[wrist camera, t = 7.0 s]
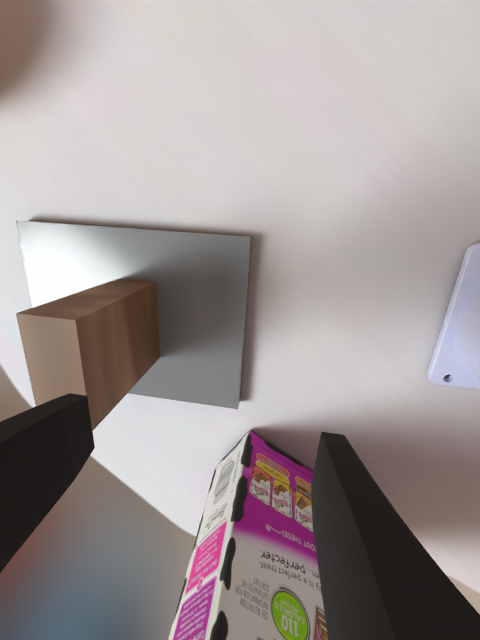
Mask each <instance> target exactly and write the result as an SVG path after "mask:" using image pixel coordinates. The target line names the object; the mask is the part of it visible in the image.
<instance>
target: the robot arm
mask: <svg viewBox="0 0 480 640" xmlns="http://www.w3.org/2000/svg"><path fill="white" fill-rule="evenodd" d="M449 374H450V376H449V377H448V378H447V379H444V377H445V376H446V375H449ZM427 377H428V379H429V380H430V381H431V382H432V383H433V384H437V385H445V386H453V387H461V388H469V389H477V390H480V243H475V244H473V245H471V246H470V247H469V248H468V249H467V251H466V253H465V256H464V259H463V263H462V266H461V269H460V272H459V275H458V278H457V281H456V284H455V288H454V291H453V294H452V297H451V300H450V303H449V306H448V309H447V313H446V316H445V319H444V322H443V325H442V328H441V331H440V335H439V338H438V341H437V344H436V347H435V350H434V353H433V356H432V360H431V363H430V366H429V369H428V372H427ZM94 448H95V447H94V440H93V433H92V426H91V419H90V412H89V404H88V397H87V396H85V395H78V394H72V393H69V394H66V395H63V396H60V397H58V398H55V399H53V400H50V401H48V402H45V403H43V404H41V405H38V406H36V407H34V408H31V409H29V410H27V411H25V412H22V413H20V414H18V415H15V416H13V417H11V418H8V419H6V420H4V421H2V422H0V573H1V571H2V570H3V569H4V567H5V566H6V565H7V563H8V562H9V561H10V559H11V558H12V557H13V556H14V555H15V553H16V552H17V551H18V550H19V548H20V547H21V546H22V545H23V543H24V542H25V541H26V540H27V538H28V537H29V536H30V535H31V533H32V532H33V531H34V530H35V528H36V527H37V526H38V525H39V524H40V522H41V521H42V520H43V519H44V517H45V516H46V515H47V514H48V512H49V511H50V510H51V509H52V507H53V506H54V505H55V504H56V502H57V501H58V500H59V499H60V497H61V496H62V495H63V494H64V492H65V491H66V490H67V488H68V487H69V486H70V485H71V483H72V482H73V481H74V479H75V478H76V476H77V475H78V473H79V472H80V470H81V469H82V467H83V466H84V464H85V462H86V461H87V459H88V458H89V456H90V454H91V453H92V451H93V449H94ZM311 501H312V524H313V533H314V541H315V548H316V555H317V563H318V570H319V577H320V584H321V591H322V599H323V606H324V613H325V620H326V627H327V635H328V640H480V615H479V613H477V611H476V610H475V609H474V608H473V606H471V604H470V603H469V602H468V601H467V600H466V598H465V597H464V596H463V595H462V594H461V593H460V591H459V590H458V589H457V588H456V587H455V586H454V584H453V583H452V582H451V581H450V580H449V578H448V577H447V576H446V575H445V573H444V572H443V571H442V570H441V569H440V567H439V566H438V565H437V564H436V562H435V561H434V560H433V559H432V557H431V556H430V555H429V554H428V552H427V551H426V550H425V548H424V547H423V546H422V545H421V543H420V542H419V541H418V540H417V538H416V537H415V536H414V534H413V533H412V532H411V530H410V529H409V528H408V527H407V525H406V524H405V523H404V521H403V520H402V519H401V517H400V516H399V514H398V513H397V512H396V510H395V509H394V508H393V506H392V505H391V503H390V502H389V501H388V499H387V498H386V496H385V495H384V494H383V492H382V491H381V489H380V488H379V487H378V485H377V484H376V482H375V481H374V479H373V478H372V476H371V475H370V473H369V472H368V471H367V469H366V468H365V466H364V465H363V463H362V462H361V460H360V458H359V457H358V455H357V454H356V452H355V451H354V449H353V448H352V446H351V445H350V443H349V442H348V440H347V439H346V437H345V436H344V435H339V434H332V433H326V432H321V437H320V442H319V447H318V453H317V458H316V463H315V468H314V473H313V478H312V483H311Z"/></svg>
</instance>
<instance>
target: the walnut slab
mask: <svg viewBox="0 0 480 640" xmlns="http://www.w3.org/2000/svg"><path fill="white" fill-rule="evenodd" d="M16 316H17V321H18V325H19V330H20V335H21V339H22V344H23V348H24V353H25V358H26V362H27V367H28V372H29V376H30V381H31V386H32V390H33V395H34V399H35V404H36V406H38V405H41V404H43V403H45V402H48V401H50V400H53V399H55V398H58V397H60V396H63V395H66V394H69V393H72V394H78V395H85V396H87V397H88V404H89V412H90V419H91V426H92V431H93V430H94V429H95V428H96V427H97V426H98V424H99V423H100V422H101V421H102V420H103V419H104V418H105V417H106V416H107V415H108V414H109V413H110V411H111V410H112V409H113V408H114V407H115V406H116V405H117V404H118V403H119V402H120V401H121V399H122V398H123V397H124V396H125V395H126V394H127V393H128V392H129V391H130V390H131V389H132V388H133V386H134V385H135V384H136V383H137V382H138V381H139V380H140V379H141V378H142V377H143V376H144V375H145V373H146V372H147V371H148V370H149V369H150V368H151V367H152V366H153V365H154V364H155V363H156V361H157V360H158V359H159V358H160V347H159V321H158V296H157V282H151V281H141V280H130V279H116V280H113V281H110V282H107V283H104V284H101V285H98V286H95V287H92V288H90V289H87V290H84V291H81V292H78V293H75V294H72V295H69V296H66V297H63V298H60V299H57V300H54V301H51V302H48V303H45V304H42V305H39V306H36V307H34V308H31V309H28V310H25V311H22V312H19V313H16Z"/></svg>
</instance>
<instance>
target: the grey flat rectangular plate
mask: <svg viewBox="0 0 480 640" xmlns="http://www.w3.org/2000/svg"><path fill="white" fill-rule="evenodd" d="M16 223H17V229H18V234H19V239H20V244H21V249H22V255H23V260H24V265H25V270H26V275H27V281H28V286H29V291H30V296H31V301H32V307H33V308H34V307H36V306H39V305H42V304H45V303H48V302H51V301H54V300H57V299H60V298H63V297H66V296H69V295H72V294H75V293H78V292H81V291H84V290H87V289H90V288H92V287H95V286H98V285H101V284H104V283H107V282H110V281H113V280H116V279H130V280H141V281H151V282H157V296H158V321H159V347H160V358H159V359H158V360H157V361H156V363H155V364H154V365H153V366H152V367H151V368H150V369H149V370H148V371H147V372H146V373H145V375H144V376H143V377H142V378H141V379H140V380H139V381H138V382H137V383H136V384H135V385H134V386H133V388H132V389H131V390H130V391H129V392H128V393H130V394H137V395H144V396H151V397H158V398H165V399H172V400H178V401H185V402H192V403H199V404H206V405H213V406H220V407H227V408H234V409H238V406H239V402H240V389H241V375H242V360H243V346H244V332H245V318H246V304H247V290H248V275H249V261H250V247H251V237H250V236H236V235H221V234H207V233H193V232H179V231H165V230H151V229H137V228H123V227H109V226H94V225H80V224H66V223H52V222H38V221H16Z"/></svg>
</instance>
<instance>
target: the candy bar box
mask: <svg viewBox="0 0 480 640" xmlns="http://www.w3.org/2000/svg"><path fill="white" fill-rule="evenodd" d="M313 473H314V472H313V471H311V470H309V469H308V468H306V467H305V466H303V465H302V464H300V463H299V462H297V461H295V460H294V459H292V458H291V457H289V456H288V455H286V454H285V453H283V452H282V451H280V450H278V449H277V448H275V447H274V446H272V445H271V444H269V443H268V442H266V441H265V440H263V439H262V438H260V437H259V436H257V435H256V434H254V433H253V432H251V431H248V432H247V433H246V434H245V435H244V437H243V438H242V439H241V440H240V441H239V442H238V444H237V445H236V446H235V447H234V448H233V449H232V450H231V451H230V452H229V453H228V454H227V455H226V456H225V457H224V458H223V459H222V460H221V462H220V463H219V464H218V465H217V466H216V468H215V471H214V474H213V478H212V482H211V485H210V489H209V493H208V497H207V501H206V504H205V508H204V511H203V515H202V519H201V522H200V525H199V529H198V533H197V537H196V541H195V544H194V548H193V552H192V556H191V559H190V562H189V566H188V570H187V574H186V577H185V581H184V585H183V588H182V592H181V595H180V599H179V603H178V607H177V610H176V615H175V619H174V622H173V625H172V629H171V632H170V636H169V640H328V635H327V627H326V620H325V613H324V606H323V599H322V591H321V584H320V577H319V570H318V563H317V555H316V548H315V541H314V533H313V524H312V501H311V483H312V478H313Z"/></svg>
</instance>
